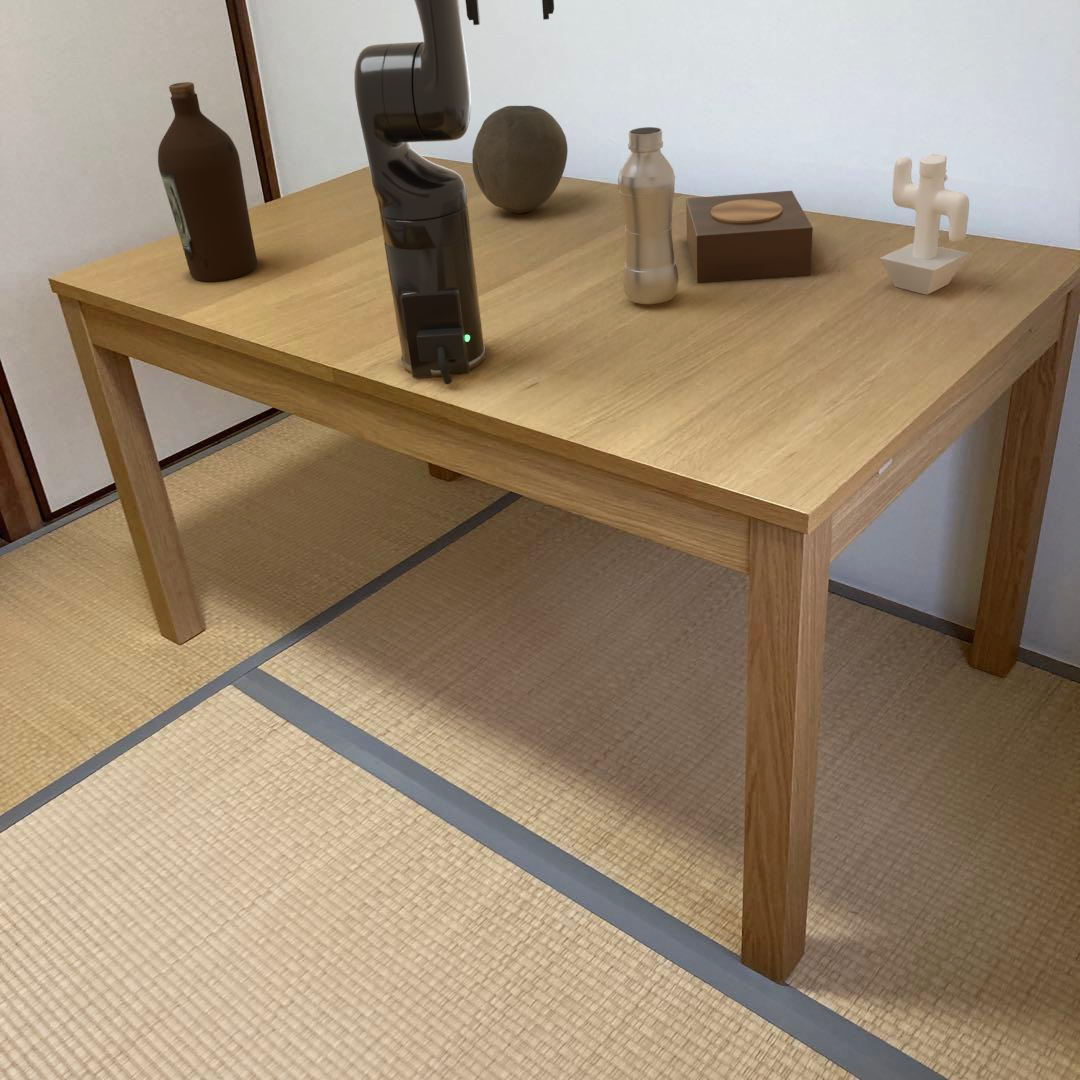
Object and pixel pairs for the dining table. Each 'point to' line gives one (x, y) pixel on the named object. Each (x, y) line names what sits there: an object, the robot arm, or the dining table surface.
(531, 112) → the cantaloupe
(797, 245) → the walnut box
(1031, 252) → the dining table surface
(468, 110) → the robot arm
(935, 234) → the figurine
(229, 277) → the olive oil
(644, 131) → the metal bottle
